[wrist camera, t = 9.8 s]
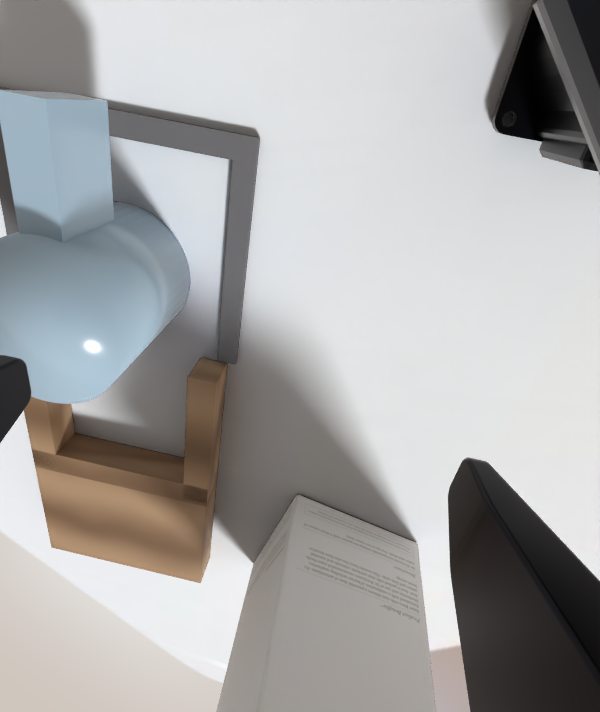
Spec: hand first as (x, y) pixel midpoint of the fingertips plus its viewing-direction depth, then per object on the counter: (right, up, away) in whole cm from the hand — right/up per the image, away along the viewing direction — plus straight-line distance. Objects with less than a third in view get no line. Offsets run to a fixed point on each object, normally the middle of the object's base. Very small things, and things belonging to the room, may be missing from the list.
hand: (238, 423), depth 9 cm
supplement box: (+3, -12, +22) cm, 25 cm away
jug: (-7, +8, +12) cm, 16 cm away
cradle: (-9, -5, +20) cm, 22 cm away
